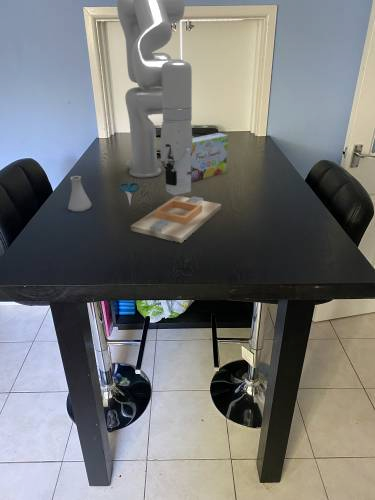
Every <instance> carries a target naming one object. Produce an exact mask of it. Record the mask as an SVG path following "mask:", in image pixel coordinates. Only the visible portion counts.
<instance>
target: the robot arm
mask: <svg viewBox="0 0 375 500" xmlns="http://www.w3.org/2000/svg"><path fill="white" fill-rule="evenodd" d="M116 4H117V5H116V10H117V15H118V19H119V22H120V25H121V28H122V31H123V34H124V37H125V48H126V50H125V51H126V64H127V73H128V78H129V79H130V81H131V82H132V83H136V84H137V86H136V87H132V88H130V89H128V90H126V93H125V96H124V98H125V105H126V110H127V114H128V121H129V130H130V133H129V134H130V141H131V142H130V145H131V158H132V159H127V160H126V162H125V166H127V167H130V169H129V171H128V172H129V175H130V176H132V177H135V178H139V179H140V178H143V179H144V178H145V179H146V178H153V177H157V176H159V175H160V174H162V168H160V167H159V166H158V159H157V158H158V157H157V156H158V155H157V152H158V151H157V135H156V134H157V133H156V131H157V130H156V125H155V124H154V122H153V121H152V119H150V118H149V116H152V115H162V123H161V130H160V162H161V164H162V167H163V171H164V172H165V185H166V184H168V185H173V186H176V185H177V171H175V168H176V164H177V161H178V160H180V159H182V158H184V156H185V152H186V150H187V149H191V156H192V150H193V145H192V138H193V129H192V120H193V117H192V116H193V113H192V109H193V108H192V107H193V106H192V105H193V104H192V98H193V97H192V95H193V93H192V92H193V90H192V89H193V88H192V87H193V86H192V81H193V80H192V75H193V72H192V71H193V70H192V65H191V63H189V62H188V61H184V60H182V59H179V58H178V59H177V58H173V59H172V58H171V56H170V55H169V54H168V53H166V52H156V51H159V50H161V49H162V48H163V47H165V46H166V45H168V43H169V42H170V40H171V38H172V35H173V30H172V29H173V28H172V25H173V24H177V23H179V22H180V21H181V20H182V19H183V17H184V14H185V9H186V8H185V7H186V6H185V0H117V2H116ZM172 156H173V159H170V157H172ZM169 162H173V164H172V165H171V164H170V163H169Z"/></svg>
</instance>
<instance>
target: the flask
mask: <svg viewBox="0 0 375 500" xmlns="http://www.w3.org/2000/svg"><path fill="white" fill-rule="evenodd" d="M69 179H70V181H71V193H70V197H69V201H68V206H67V210H68V211H69V210H70V211H72V212H84V211H87V210H90V209H91V207H92V206H93V203H92V202H91V200H90V199H89V197H88V195H87V194H86V193H87V192H85V189H84V188H83V185H82V180H81V179H82V176H79V175H74V176H70V178H69Z"/></svg>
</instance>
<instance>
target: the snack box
mask: <svg viewBox="0 0 375 500" xmlns="http://www.w3.org/2000/svg"><path fill="white" fill-rule="evenodd" d="M228 144H229V134H225V133H222V132H216V133H211V134H210V133H209V134H207V135H201V136H196V137H192V145H193V150H192V156H191V183H193V182H196V181H200V180H204V179H206V178H210V177H214V176H217V175H221V174H224V173H226V172H227V158H228V146H229V145H228Z"/></svg>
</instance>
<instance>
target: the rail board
mask: <svg viewBox="0 0 375 500" xmlns="http://www.w3.org/2000/svg"><path fill="white" fill-rule="evenodd" d="M221 209H222V204H221V203H216V202H212V201H208V200H206V201H205V200H204V198H203V197H200V196H199V197H198V196H191V197H186V196H180V195H174V197H172V198H171V199H169V200H168V201H166V202H165V203H163V204H162V205H160V206H158V207H157V208H155V209H154V210H153V211H151V212H150V213H148V214H147V215H145V216H143V217H142V218H140V219H139V220H137V221H136V222H134V223H133V224H131V225H130V231H131V232H135V233H138V234H139V233H140V234H143V235H146V236H151V237H155V238H158V239H163V240H167V241H171V242H174V241H175V243H178V242H179V243H178V244H182V243H183V242H185V241H184V240H188V238H189V237H190V236H192V235H193V234H194V233H195V232H196V231H197V230H199V228H200V227H202V226H203V225H204V224H205V223H206V222H208V221H209V220H210V219H211V218H212V217H213V216H214V215H216V213H218V212H219V211H220V210H221ZM192 233H193V234H192Z"/></svg>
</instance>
